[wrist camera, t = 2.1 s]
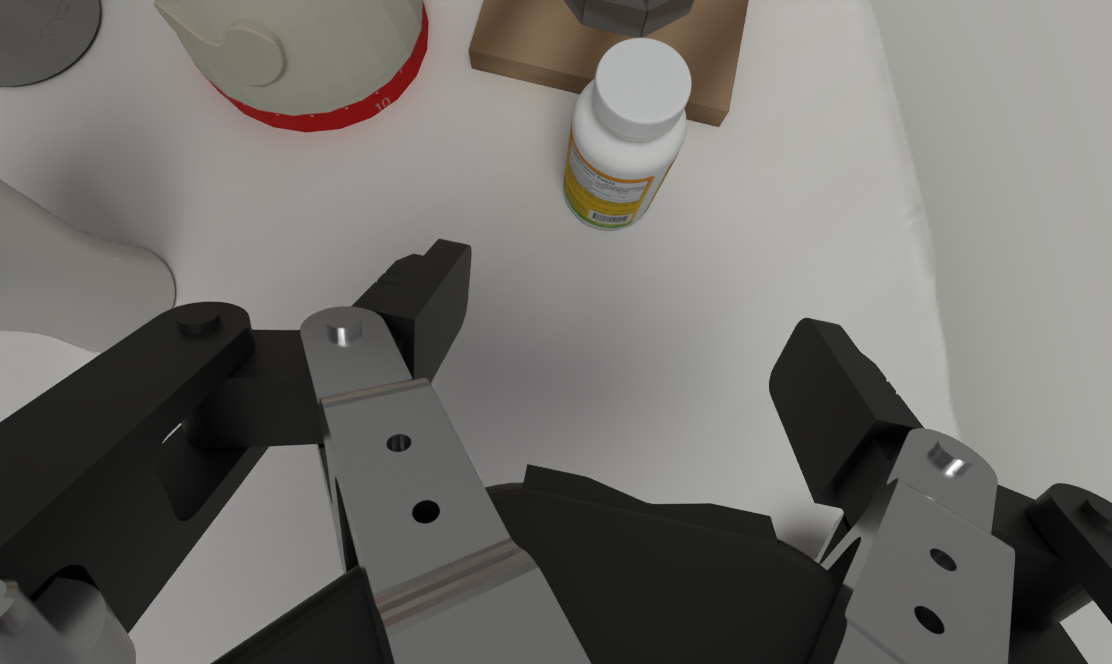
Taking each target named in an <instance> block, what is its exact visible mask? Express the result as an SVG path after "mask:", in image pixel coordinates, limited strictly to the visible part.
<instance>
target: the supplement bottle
mask: <svg viewBox="0 0 1112 664" xmlns="http://www.w3.org/2000/svg"><path fill="white" fill-rule="evenodd" d="M691 86H692V85H691V75H690V71H689V68H688V66H687V64H686V62H685V61H684V59H683V58H682V57H681V55H680V54H679V53H678V52H677V51H675V50H674V49H673V48H672V47H670V46H669V45H667V44H665V43H663V42H660V41H657V40H654V39H649V38H633V39H628V40H625V41H622V42H620V43H618V44H616V45H614V46H613V47H611V48H610V49H609V50H608V51H607V52H606V53H605V54H604V56H603V57H602V59H601V60H600V62H599V64H598V67H597V71H596V75H595V79H594V80H592V81H591V82H590V83H589V84H588V85H587V86H586V87H585V88H584V90H583V91H582V92H581V94H580V96H579V97H578V100H577V102H576V104H575V108H574V112H573V117H572V123H571V131H570V138H569V146H568V154H567V162H566V169H565V177H564V193H565V197H566V200H567V203H568V205H569V207H570V209H571V210H572V212H573V213H574V214H575V215H576V216H577V217H578V218H579V219H580V220H581V221H582V222H584V223H586V224H587V225H589V226H592V227H594V228H597V229H601V230H619V229H623V228H626V227H628V226H630V225H632V224H634V223H635V222H637V221H638V220H639V219H640V218H641V217H642V216H643V215H644V214H645V212H646V211H647V209H648V208H649V206H650V204H651V202H652V200H653V199H654V197H655V195H656V193H657V191H658V189H659V188H660V186H661V184H662V182H663V180H664V178H665V177H666V175H667V173H668V171H669V169H670V168H671V166H672V164H673V162H674V160H675V159H676V157H677V155H678V153H679V151H680V149H681V146H682V144H683V141H684V138H685V134H686V125H687V121H686V113H685V109H684V108H685V106H686V104H687V101H688V99H689V96H690V93H691Z"/></svg>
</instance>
